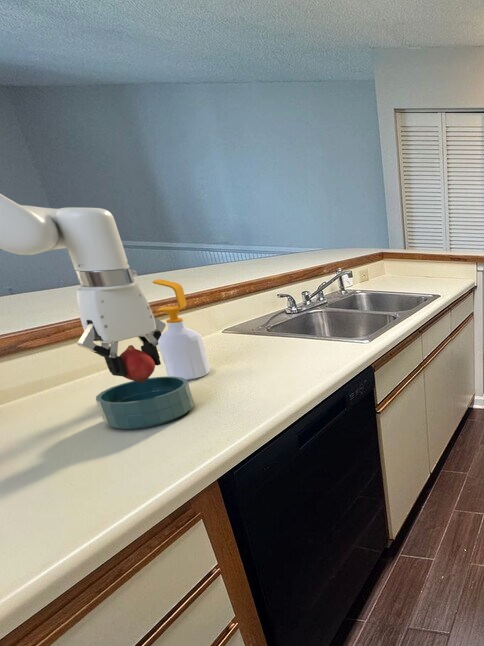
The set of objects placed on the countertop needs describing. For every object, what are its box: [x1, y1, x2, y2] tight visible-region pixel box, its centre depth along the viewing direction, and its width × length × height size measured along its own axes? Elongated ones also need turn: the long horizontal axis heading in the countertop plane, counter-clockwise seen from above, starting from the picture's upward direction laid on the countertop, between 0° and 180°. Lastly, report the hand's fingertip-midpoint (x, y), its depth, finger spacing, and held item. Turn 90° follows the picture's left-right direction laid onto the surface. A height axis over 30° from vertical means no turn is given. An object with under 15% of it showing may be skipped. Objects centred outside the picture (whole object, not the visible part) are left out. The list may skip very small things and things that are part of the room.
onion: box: [119, 344, 156, 383], centre depth 85 cm, size 6×6×8 cm
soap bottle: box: [152, 278, 211, 381], centre depth 106 cm, size 9×9×25 cm
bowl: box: [95, 376, 195, 430], centre depth 88 cm, size 15×15×6 cm
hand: (137, 369), depth 85 cm, fingers closed on onion, 5 cm apart
